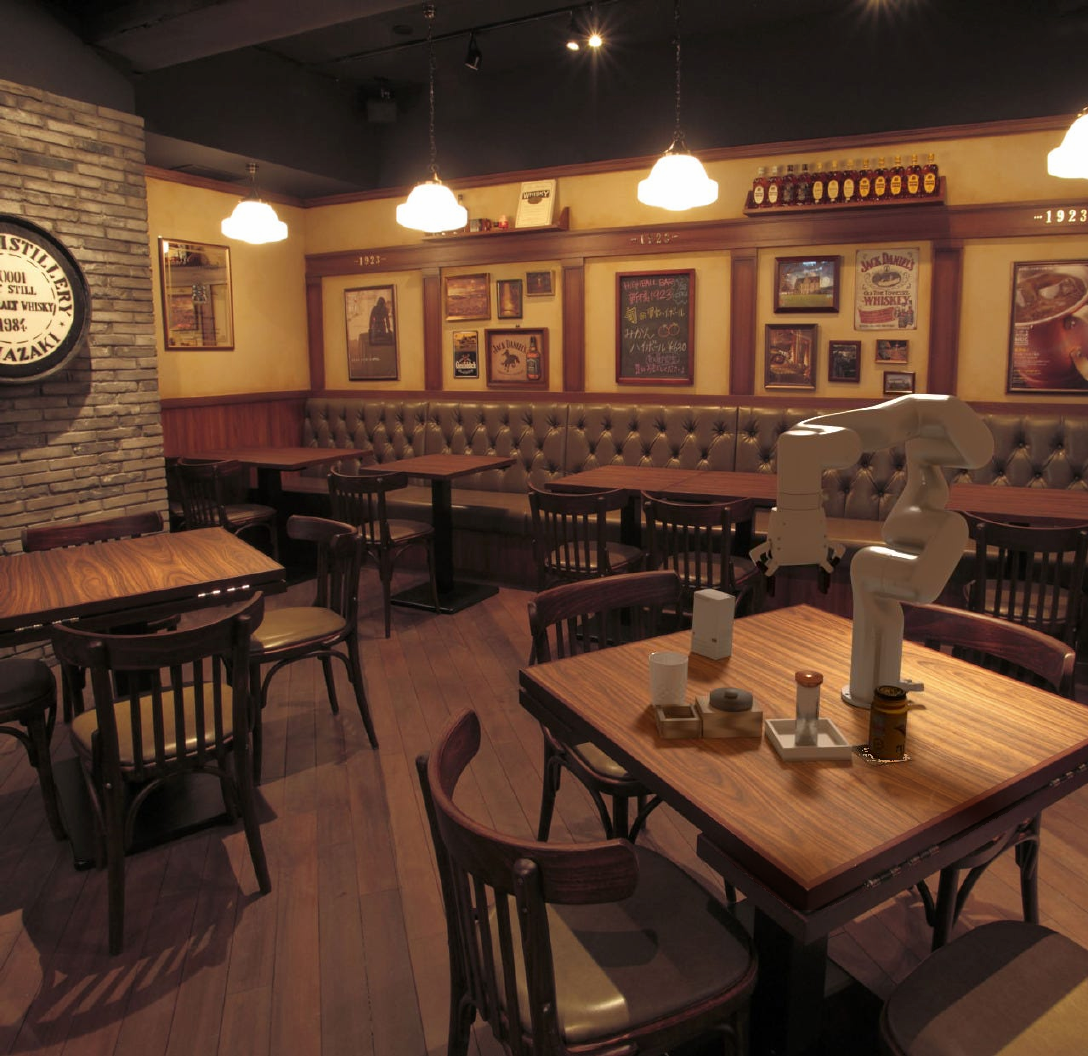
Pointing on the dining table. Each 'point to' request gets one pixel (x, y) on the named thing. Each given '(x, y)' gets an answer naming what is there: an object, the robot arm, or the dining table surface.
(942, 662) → the dining table surface
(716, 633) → the skincare box
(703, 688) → the dining table surface
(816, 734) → the glass shaker
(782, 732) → the tray
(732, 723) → the wooden condiment holder
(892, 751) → the condiment
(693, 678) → the dining table surface
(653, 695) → the white cup
